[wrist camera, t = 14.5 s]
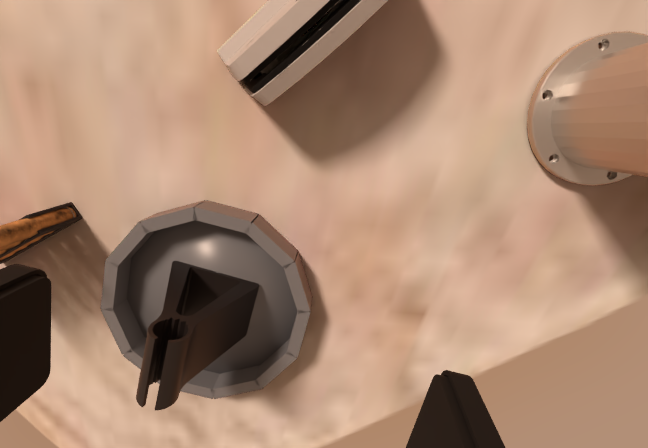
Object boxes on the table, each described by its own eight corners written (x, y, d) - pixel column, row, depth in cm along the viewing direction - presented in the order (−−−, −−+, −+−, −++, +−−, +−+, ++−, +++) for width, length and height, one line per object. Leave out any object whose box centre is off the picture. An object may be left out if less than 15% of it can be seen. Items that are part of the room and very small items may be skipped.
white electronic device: (365, -96, 28) (417, -144, 19) (395, -37, 30) (453, -56, 22) (214, 52, 31) (202, 67, 23) (252, 95, 33) (254, 123, 25)
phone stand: (260, 284, 36) (225, 358, 25) (247, 333, 38) (207, 424, 26) (174, 259, 36) (97, 322, 24) (164, 310, 37) (87, 393, 26)
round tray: (330, 232, 35) (330, 242, 32) (285, 394, 40) (281, 415, 37) (131, 180, 34) (113, 185, 31) (111, 352, 40) (94, 370, 37)
